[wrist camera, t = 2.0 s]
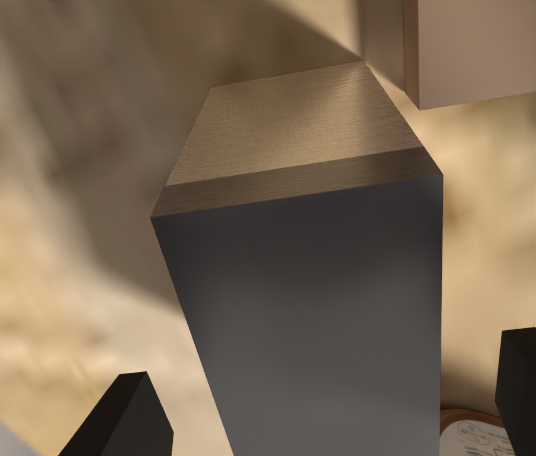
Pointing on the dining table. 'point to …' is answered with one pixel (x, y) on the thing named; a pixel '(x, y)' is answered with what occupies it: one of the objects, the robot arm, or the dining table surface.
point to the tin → (472, 434)
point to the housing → (310, 265)
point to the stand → (468, 50)
